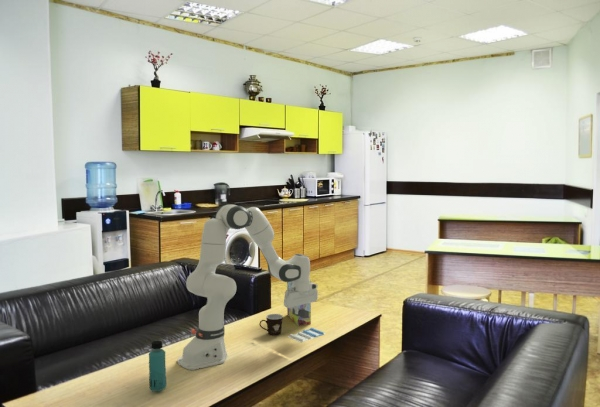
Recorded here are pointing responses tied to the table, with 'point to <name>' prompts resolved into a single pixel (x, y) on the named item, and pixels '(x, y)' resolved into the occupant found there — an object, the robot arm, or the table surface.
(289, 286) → the snack box
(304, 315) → the grey rectangular prism
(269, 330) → the coffee mug
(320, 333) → the white ridged tray
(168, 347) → the table surface
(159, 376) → the beverage bottle
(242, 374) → the table surface
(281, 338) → the table surface
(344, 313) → the table surface
